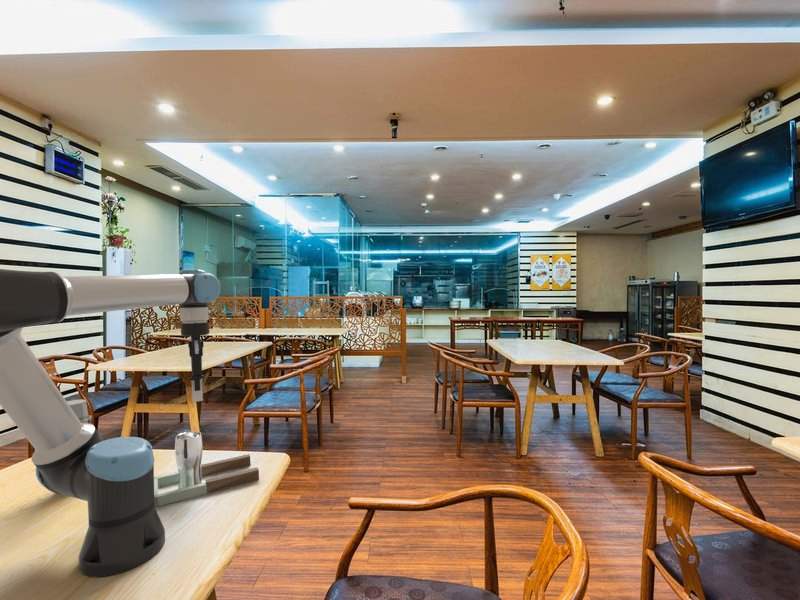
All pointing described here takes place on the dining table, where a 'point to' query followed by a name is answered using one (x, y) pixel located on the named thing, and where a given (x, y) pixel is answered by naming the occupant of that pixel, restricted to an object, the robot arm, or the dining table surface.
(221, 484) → the slot rails
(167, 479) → the pale green u-shaped frame
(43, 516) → the dining table surface
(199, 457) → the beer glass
